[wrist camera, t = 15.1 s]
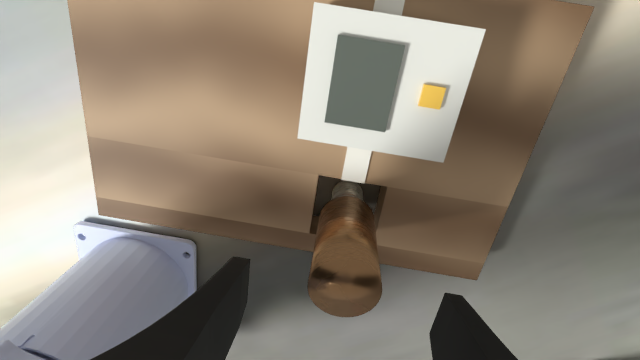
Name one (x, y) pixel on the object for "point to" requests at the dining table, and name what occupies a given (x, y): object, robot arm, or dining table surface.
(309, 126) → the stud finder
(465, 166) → the board
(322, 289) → the brown translucent cylinder
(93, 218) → the dining table surface
